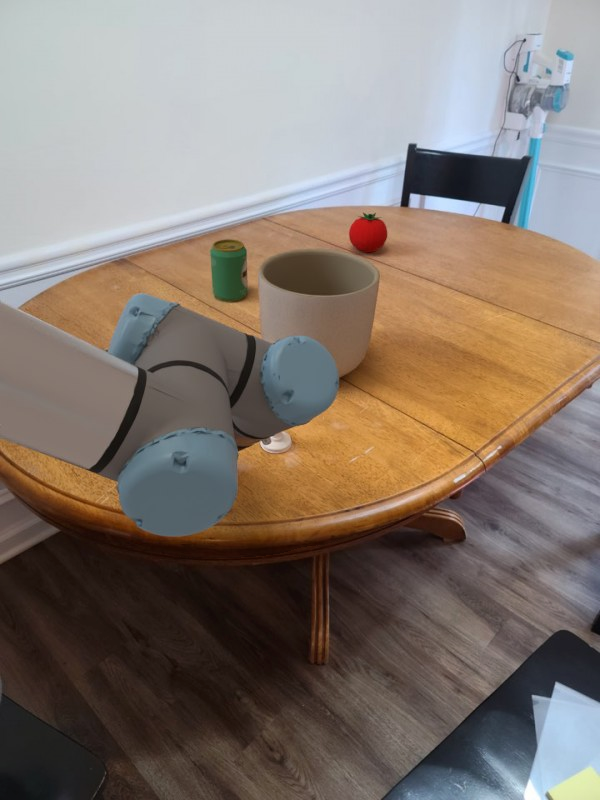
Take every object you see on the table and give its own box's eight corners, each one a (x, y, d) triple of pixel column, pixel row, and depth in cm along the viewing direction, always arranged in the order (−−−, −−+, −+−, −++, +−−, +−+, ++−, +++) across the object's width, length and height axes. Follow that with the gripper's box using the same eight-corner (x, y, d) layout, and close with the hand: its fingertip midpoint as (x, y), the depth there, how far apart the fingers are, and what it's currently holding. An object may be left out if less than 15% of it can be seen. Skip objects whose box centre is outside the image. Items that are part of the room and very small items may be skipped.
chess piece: (295, 436, 90) (297, 384, 84) (286, 456, 86) (287, 403, 80) (266, 430, 91) (265, 379, 85) (255, 449, 87) (254, 397, 81)
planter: (379, 349, 113) (391, 258, 101) (351, 407, 97) (362, 306, 86) (283, 329, 118) (284, 241, 107) (241, 381, 102) (237, 283, 91)
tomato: (389, 257, 152) (394, 220, 147) (351, 258, 151) (355, 221, 145) (380, 243, 161) (384, 208, 155) (344, 244, 160) (347, 208, 154)
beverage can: (246, 303, 127) (244, 252, 120) (210, 302, 127) (207, 251, 120) (249, 288, 134) (248, 239, 127) (215, 287, 134) (212, 237, 127)
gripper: (178, 485, 56) (123, 507, 75) (317, 410, 67) (238, 446, 86) (144, 417, 56) (97, 457, 75) (288, 354, 67) (216, 403, 86)
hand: (172, 451), depth 81 cm, fingers closed on pill bottle, 6 cm apart
